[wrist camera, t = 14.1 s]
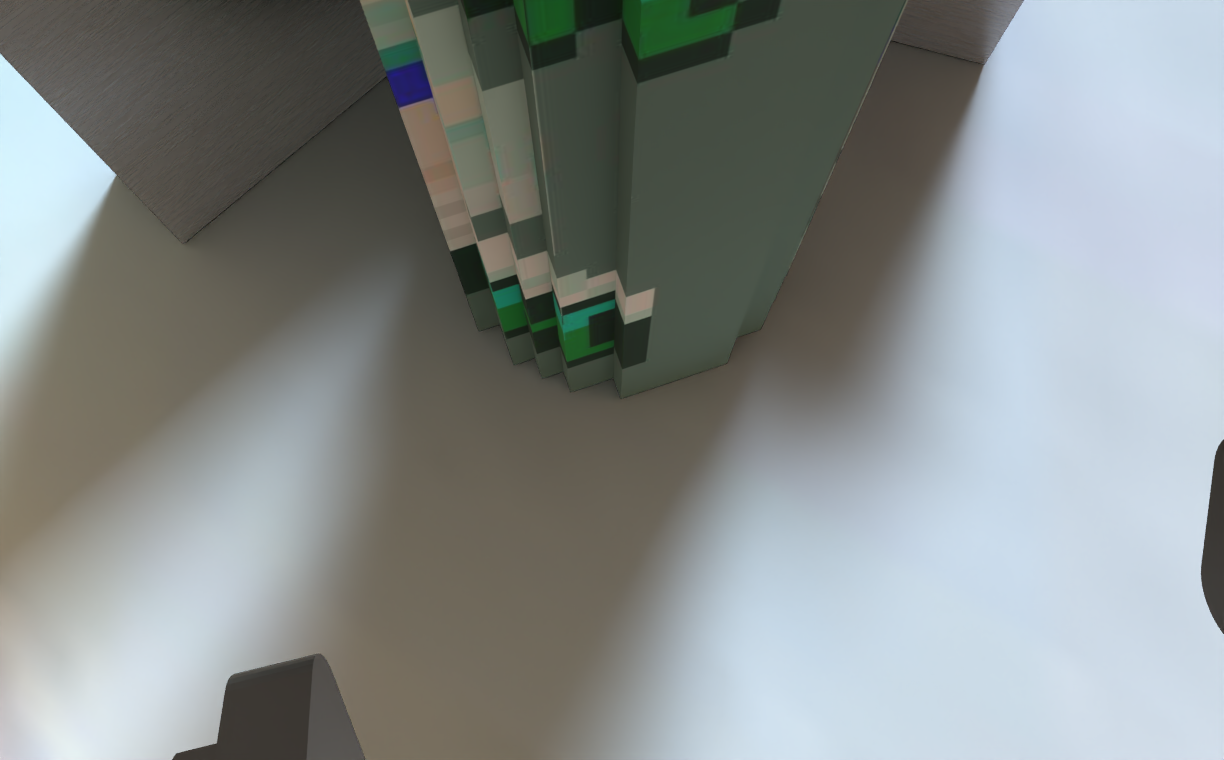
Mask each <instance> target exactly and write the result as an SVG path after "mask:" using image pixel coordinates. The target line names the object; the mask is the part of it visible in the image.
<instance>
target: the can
mask: <svg viewBox="0 0 1224 760" xmlns="http://www.w3.org/2000/svg"><path fill="white" fill-rule="evenodd" d="M907 2H908V0H360V3H361V5H362V8H363V11H364V14H365V16H366V19H367V22H368V25H369V28H370V30H371V33H372V36H373V39H374V41H375V44H376V47H377V50H378V53H379V55H380V58H381V61H382V64H383V66H384V69H385V72H386V75H387V78H388V80H389V83H390V86H391V89H392V91H393V94H394V97H395V100H396V103H397V105H398V108H399V111H400V114H401V117H402V119H403V122H404V125H405V128H406V130H407V133H408V136H409V139H410V142H411V144H412V147H413V150H414V153H415V155H416V158H417V161H418V164H419V167H420V169H421V172H422V175H423V178H424V180H425V183H426V186H427V189H428V192H429V194H430V197H431V200H432V203H433V205H434V208H435V211H436V214H437V217H438V219H439V222H440V225H441V228H442V230H443V233H444V236H445V239H446V242H447V244H448V247H449V250H450V253H451V256H452V258H453V261H454V264H455V267H456V269H457V272H458V275H459V278H460V281H461V283H462V286H463V289H464V292H465V294H466V297H467V300H468V303H469V306H470V308H471V311H472V314H473V317H474V319H475V322H476V325H477V328H478V331H481V330H485V329H488V328H491V327H494V326H497V325H500V326H501V329H502V332H503V335H504V338H505V341H506V344H507V347H508V350H509V353H510V356H511V359H512V362H513V365H516V364H519V363H522V362H525V361H528V360H531V359H534V358H535V359H536V362H537V365H538V368H539V371H540V374H541V377H542V379H543V378H546V377H549V376H552V375H555V374H558V373H561V372H564V375H565V378H566V381H567V383H568V386H569V389H570V392H573V391H576V390H579V389H582V388H585V387H588V386H591V385H594V384H597V383H600V382H603V381H606V380H609V379H612V378H613V379H614V381H615V384H616V387H617V390H618V393H619V396H620V398H621V399H622V398H625V397H628V396H631V395H634V394H637V393H640V392H643V391H646V390H649V389H652V388H655V387H658V386H661V385H664V384H667V383H670V382H673V381H676V380H679V379H682V378H685V377H688V376H691V375H694V374H697V373H700V372H703V371H706V370H709V369H712V368H715V367H718V366H721V365H724V364H727V362H728V359H729V356H730V354H731V351H732V348H733V346H734V343H735V341H736V338H737V337H739V336H742V335H745V334H748V333H751V332H754V331H757V330H760V329H761V328H762V325H763V323H764V321H765V319H766V316H767V314H768V312H769V309H770V307H771V305H772V303H773V302H774V301H775V298H776V296H777V294H778V291H779V289H780V287H781V285H782V282H783V280H784V278H785V276H786V275H787V273H788V271H789V269H790V266H791V264H792V262H793V260H794V257H795V255H796V253H797V251H798V248H799V246H800V244H801V242H802V239H803V237H804V235H805V233H806V230H807V228H808V226H809V224H810V221H811V219H812V217H813V214H814V212H815V210H816V208H817V205H818V203H819V201H820V199H821V196H822V194H823V192H824V190H825V187H826V185H827V183H828V181H829V178H830V176H831V174H832V172H833V169H834V167H835V165H836V162H837V160H838V158H839V156H840V153H841V151H842V149H843V147H844V144H845V142H846V140H847V138H848V135H849V133H850V131H851V129H852V126H853V124H854V122H855V120H856V117H857V115H858V113H859V111H860V108H861V106H862V104H863V101H864V99H865V97H866V95H867V92H868V90H869V88H870V86H871V83H872V81H873V79H874V77H875V74H876V72H877V70H878V68H879V65H880V63H881V61H882V59H883V56H884V54H885V52H886V50H887V47H888V45H889V43H890V40H891V38H892V36H893V34H894V31H895V29H896V27H897V25H898V22H899V20H900V18H901V16H902V13H903V11H904V9H905V7H906V4H907Z"/></svg>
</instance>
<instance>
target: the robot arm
mask: <svg viewBox="0 0 1224 760" xmlns="http://www.w3.org/2000/svg"><path fill="white" fill-rule="evenodd" d="M1201 580H1202V587H1203V592H1204V595H1205V599H1206V602H1207V604H1208V607H1209V610H1210V612H1211V614H1212V616H1213V618H1214V620H1215V622H1216V623H1217V625H1218V627H1219V628H1220V630H1221V631H1222V633H1223V634H1224V440H1223V441H1222V442H1221V443H1220V445H1219V446H1218V449H1217V451H1216V455H1215V460H1214V468H1213V476H1212V484H1211V492H1210V500H1209V508H1208V516H1207V524H1206V532H1205V540H1204V549H1203V557H1202V565H1201ZM172 760H365V757H364V754H363V752H362V749H361V747H360V744H359V741H358V739H357V736H356V734H355V731H354V728H353V726H352V723H351V720H350V718H349V715H348V713H347V710H346V707H345V705H344V702H343V699H342V697H341V694H340V692H339V689H338V686H337V684H336V681H335V679H334V676H333V673H332V671H331V669H330V666H329V664H328V662H327V660H326V659H325V658H324V656H323V655H321V654H315V655H311V656H307V657H303V658H298V659H294V660H290V661H286V662H282V663H278V664H274V665H270V666H265V667H261V668H257V669H253V670H249V671H245V672H241V673H237V674H233V675H232V676H231V677H230V678H229V680H228V682H227V685H226V690H225V695H224V702H223V708H222V714H221V721H220V727H219V733H218V740H217V744H213V745H209V746H205V747H201V748H197V749H192V750H188V751H184V752H180V753H176V755H175V756H174V758H173V759H172Z"/></svg>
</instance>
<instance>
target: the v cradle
mask: <svg viewBox="0 0 1224 760" xmlns="http://www.w3.org/2000/svg"><path fill="white" fill-rule="evenodd" d="M1023 1H1024V0H908V2H907V4H906V7H905V9H904V11H903V13H902V16H901V18H900V20H899V22H898V25H897V27H896V29H895V31H894V34H893V36H892V38H891V41H895V42H899V43H903V44H907V45H911V46H915V47H919V48H923V49H926V50H930V51H934V52H938V53H942V54H946V55H950V56H954V57H957V58H961V59H965V60H969V61H973V62H977V63H981V64H985V63H986V61H987V60H988V58H989V57H990V55H991V53H992V52H993V50H994V48H995V47H996V45H997V43H998V42H999V40H1000V39H1001V37H1002V35H1003V34H1004V32H1005V30H1006V29H1007V27H1008V25H1009V24H1010V22H1011V21H1012V19H1013V17H1014V16H1015V14H1016V12H1017V11H1018V9H1019V7H1020V6H1021V4H1022V3H1023ZM0 54H1V55H2V56H3V57H4V58H5V59H6V60H7V61H8V62H9V63H10V64H11V65H12V66H13V67H14V68H15V69H16V71H17V72H18V73H19V74H20V75H21V76H22V77H23V78H24V79H25V80H26V81H27V82H28V83H29V84H30V85H31V86H32V87H33V88H34V89H35V90H36V91H37V92H38V93H39V94H40V96H41V97H42V98H43V99H44V100H45V101H46V102H47V103H48V104H49V105H50V106H51V107H52V108H53V109H54V110H55V111H56V112H57V113H58V114H59V115H60V116H61V117H62V118H63V119H64V121H65V122H66V123H67V124H68V125H69V126H70V127H71V128H72V129H73V130H74V131H75V132H76V133H77V134H78V135H79V136H80V137H81V138H82V139H83V140H84V141H85V142H86V143H87V144H88V146H89V147H90V148H91V149H92V150H93V151H94V152H95V153H96V154H97V155H98V156H99V157H100V158H101V159H102V160H103V161H104V162H105V163H106V164H107V165H108V166H109V167H110V168H111V170H112V171H113V172H114V173H115V174H116V175H117V176H118V177H119V178H120V179H121V180H122V181H123V182H124V183H125V184H126V185H127V186H128V187H129V188H130V189H131V190H132V191H133V192H134V193H135V195H136V196H137V197H138V198H139V199H140V200H141V201H142V202H143V203H144V204H145V205H146V206H147V207H148V208H149V209H150V210H151V211H152V212H153V213H154V214H155V215H156V216H157V217H158V218H159V220H160V221H161V222H162V223H163V224H164V225H165V226H166V227H167V228H168V229H169V230H170V231H171V232H172V233H173V234H174V235H175V236H176V237H177V238H178V239H179V240H180V241H181V242H182V243H183V244H184V243H185V242H186V241H188V240H189V239H190V238H191V237H192V236H194V235H195V234H196V233H197V232H198V231H200V230H201V229H202V228H203V227H205V226H206V225H207V224H208V223H209V222H211V221H212V220H213V219H214V218H215V217H217V216H218V215H219V214H220V213H221V212H223V211H224V210H225V209H226V208H228V207H229V206H230V205H231V204H232V203H234V202H235V201H236V200H237V199H238V198H240V197H241V196H242V195H243V194H245V193H246V192H247V191H248V190H249V189H251V188H252V187H253V186H254V185H255V184H257V183H258V182H259V181H260V180H261V179H263V178H264V177H265V176H266V175H268V174H269V173H270V172H271V171H272V170H274V169H275V168H276V167H277V166H278V165H280V164H281V163H282V162H283V161H285V160H286V159H287V158H288V157H289V156H291V155H292V154H293V153H294V152H295V151H297V150H298V149H299V148H300V147H301V146H303V145H304V144H305V143H306V142H308V141H309V140H310V139H311V138H312V137H314V136H315V135H316V134H317V133H318V132H320V131H321V130H322V129H323V128H324V127H326V126H327V125H328V124H329V123H331V122H332V121H333V120H334V119H335V118H337V117H338V116H339V115H340V114H341V113H343V112H344V111H345V110H346V109H348V108H349V107H350V106H351V105H352V104H354V103H355V102H356V101H357V100H358V99H360V98H361V97H362V96H363V95H364V94H366V93H367V92H368V91H369V90H371V89H372V88H373V87H374V86H375V85H377V84H378V83H379V82H380V81H381V80H383V79H384V78H385V77H386V76H387V75H386V72H385V69H384V66H383V64H382V61H381V58H380V55H379V53H378V50H377V47H376V44H375V41H374V39H373V36H372V33H371V30H370V28H369V25H368V22H367V19H366V16H365V14H364V11H363V8H362V5H361V3H360V0H0Z"/></svg>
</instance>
